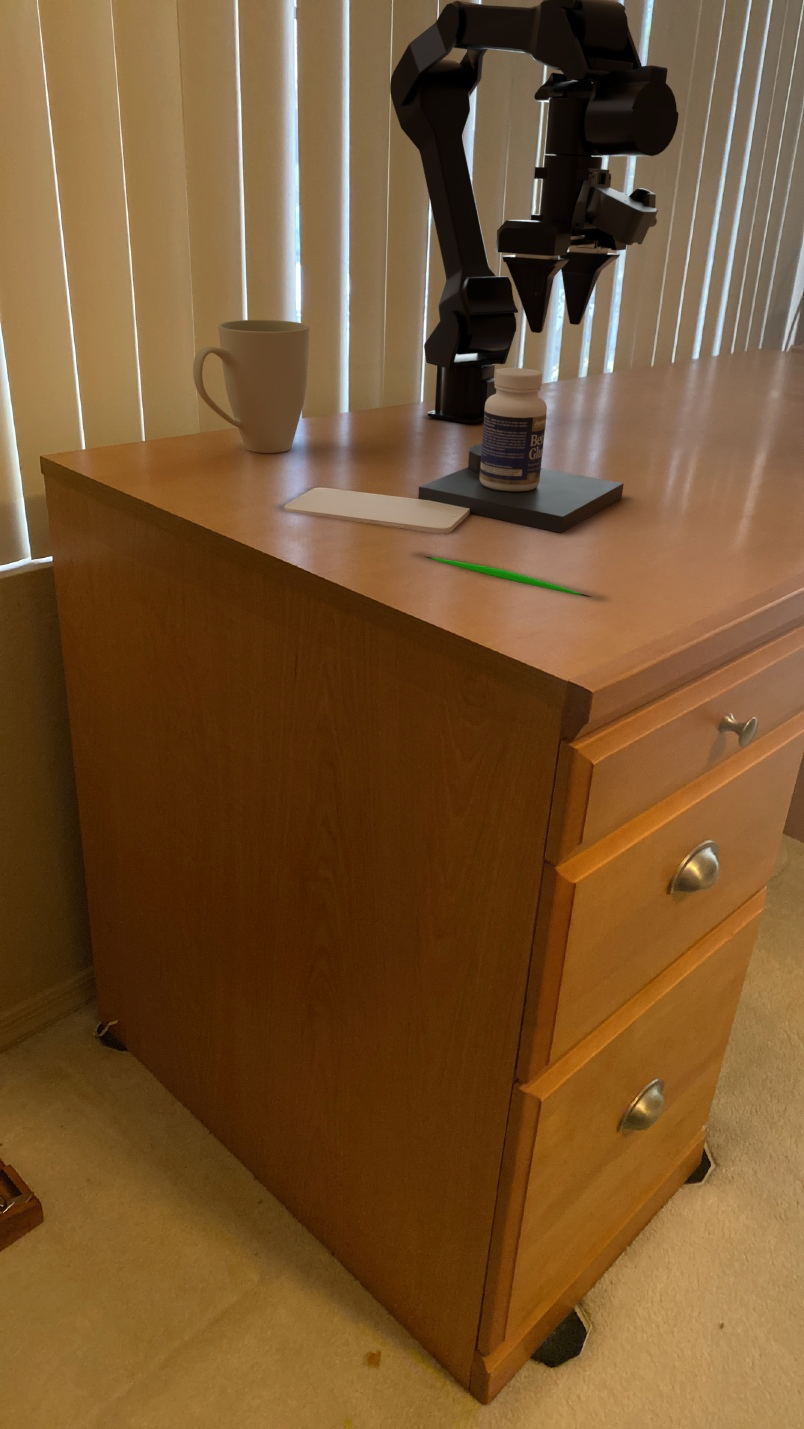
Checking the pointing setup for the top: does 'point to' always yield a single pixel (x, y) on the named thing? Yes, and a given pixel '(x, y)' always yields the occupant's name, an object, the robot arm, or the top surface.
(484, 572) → the green tapered stick
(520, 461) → the pill bottle
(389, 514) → the smartphone
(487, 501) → the scale
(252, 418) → the mug
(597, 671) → the top surface
